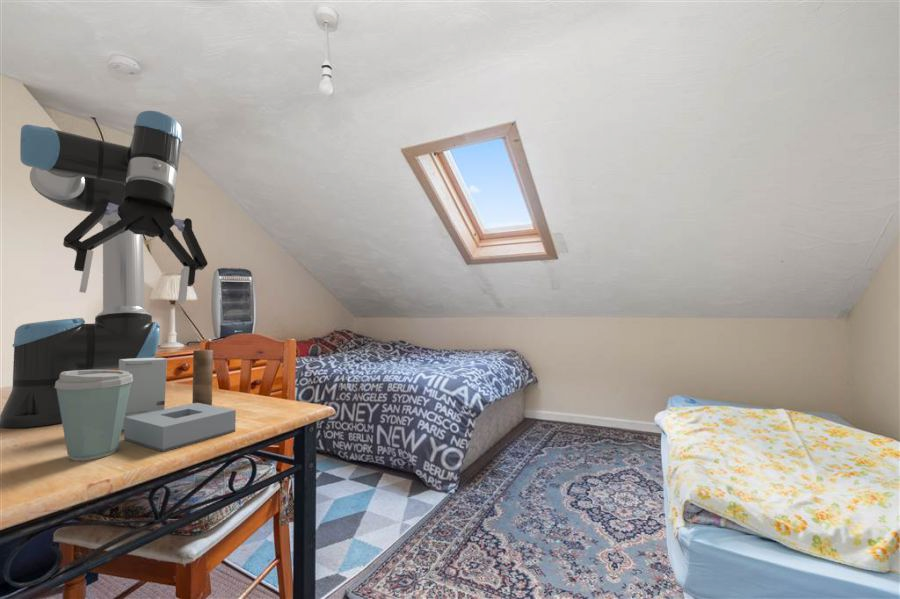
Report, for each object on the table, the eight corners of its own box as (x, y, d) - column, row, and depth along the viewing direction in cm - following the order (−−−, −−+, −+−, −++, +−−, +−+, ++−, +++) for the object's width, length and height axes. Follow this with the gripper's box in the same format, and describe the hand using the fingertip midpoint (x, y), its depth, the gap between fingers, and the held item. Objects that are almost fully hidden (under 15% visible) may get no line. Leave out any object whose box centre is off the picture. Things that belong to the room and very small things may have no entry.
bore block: (124, 439, 79) (124, 417, 80) (196, 422, 92) (196, 402, 92) (162, 451, 73) (163, 427, 73) (235, 431, 85) (235, 410, 85)
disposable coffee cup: (124, 441, 79) (126, 364, 79) (139, 453, 72) (141, 369, 72) (48, 456, 71) (50, 370, 71) (57, 472, 64) (59, 377, 64)
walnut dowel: (188, 418, 95) (189, 350, 95) (205, 414, 99) (206, 349, 99) (198, 420, 93) (199, 351, 94) (215, 416, 97) (216, 350, 97)
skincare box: (118, 431, 85) (120, 361, 85) (114, 425, 89) (116, 358, 89) (166, 423, 91) (167, 357, 91) (160, 418, 95) (162, 355, 95)
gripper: (60, 152, 64) (32, 276, 58) (229, 200, 81) (222, 300, 75) (58, 174, 69) (32, 291, 63) (218, 215, 86) (210, 310, 80)
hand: (135, 296), depth 69 cm, fingers open, 13 cm apart
